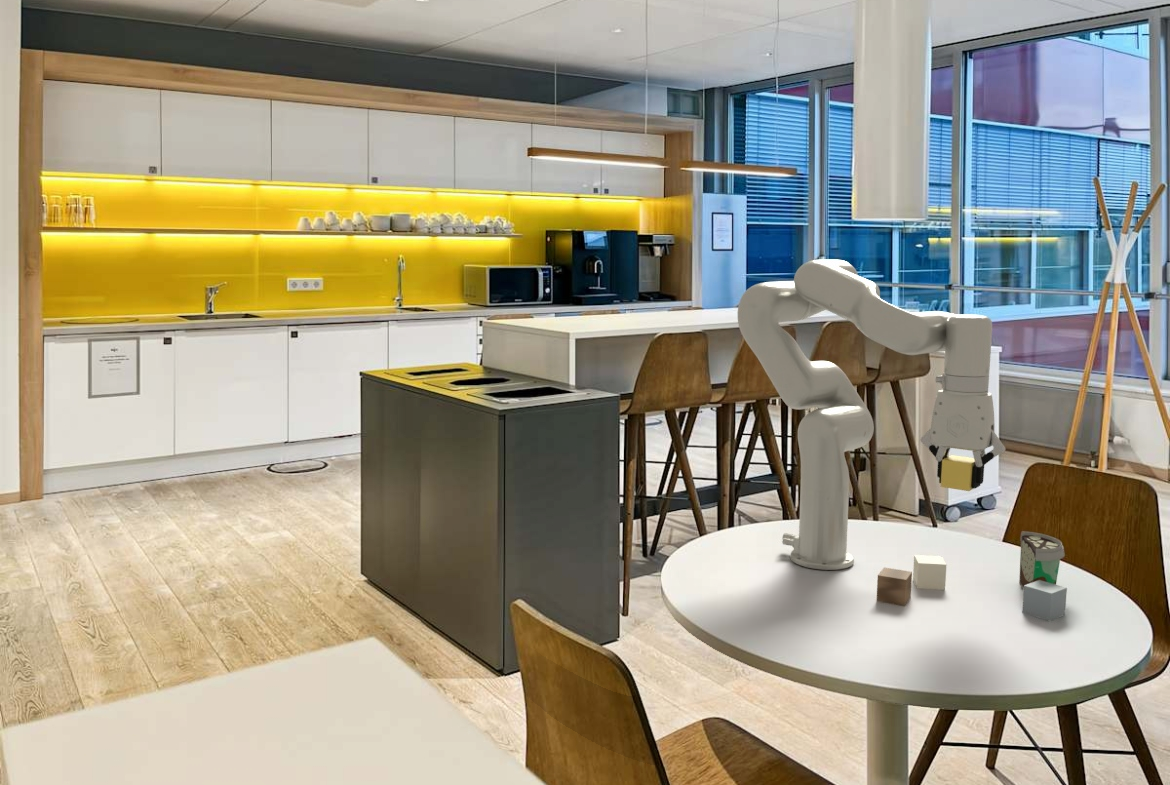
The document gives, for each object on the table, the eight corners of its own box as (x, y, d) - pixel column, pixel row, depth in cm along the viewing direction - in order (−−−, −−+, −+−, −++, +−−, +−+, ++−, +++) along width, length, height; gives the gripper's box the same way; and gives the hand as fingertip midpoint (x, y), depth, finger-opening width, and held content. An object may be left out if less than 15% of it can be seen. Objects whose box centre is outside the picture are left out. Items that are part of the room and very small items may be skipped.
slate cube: (1022, 612, 173) (1024, 585, 172) (1037, 606, 176) (1039, 579, 175) (1049, 621, 169) (1051, 593, 168) (1064, 615, 172) (1066, 587, 171)
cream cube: (917, 588, 185) (918, 563, 184) (912, 579, 190) (914, 554, 189) (945, 590, 184) (946, 564, 183) (939, 581, 189) (941, 556, 188)
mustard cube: (940, 486, 177) (942, 459, 176) (950, 481, 181) (951, 455, 180) (968, 491, 174) (970, 463, 173) (978, 486, 177) (980, 458, 177)
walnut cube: (876, 601, 178) (877, 575, 177) (882, 593, 182) (884, 567, 182) (904, 606, 176) (906, 579, 175) (910, 598, 180) (912, 571, 179)
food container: (1069, 605, 176) (1073, 551, 174) (1032, 603, 177) (1036, 549, 176) (1051, 583, 188) (1055, 532, 186) (1017, 580, 189) (1020, 530, 188)
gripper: (910, 382, 177) (905, 481, 179) (1009, 391, 166) (1002, 496, 169) (926, 378, 183) (920, 473, 185) (1022, 386, 172) (1015, 488, 175)
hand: (959, 483), depth 177 cm, fingers closed on mustard cube, 5 cm apart
